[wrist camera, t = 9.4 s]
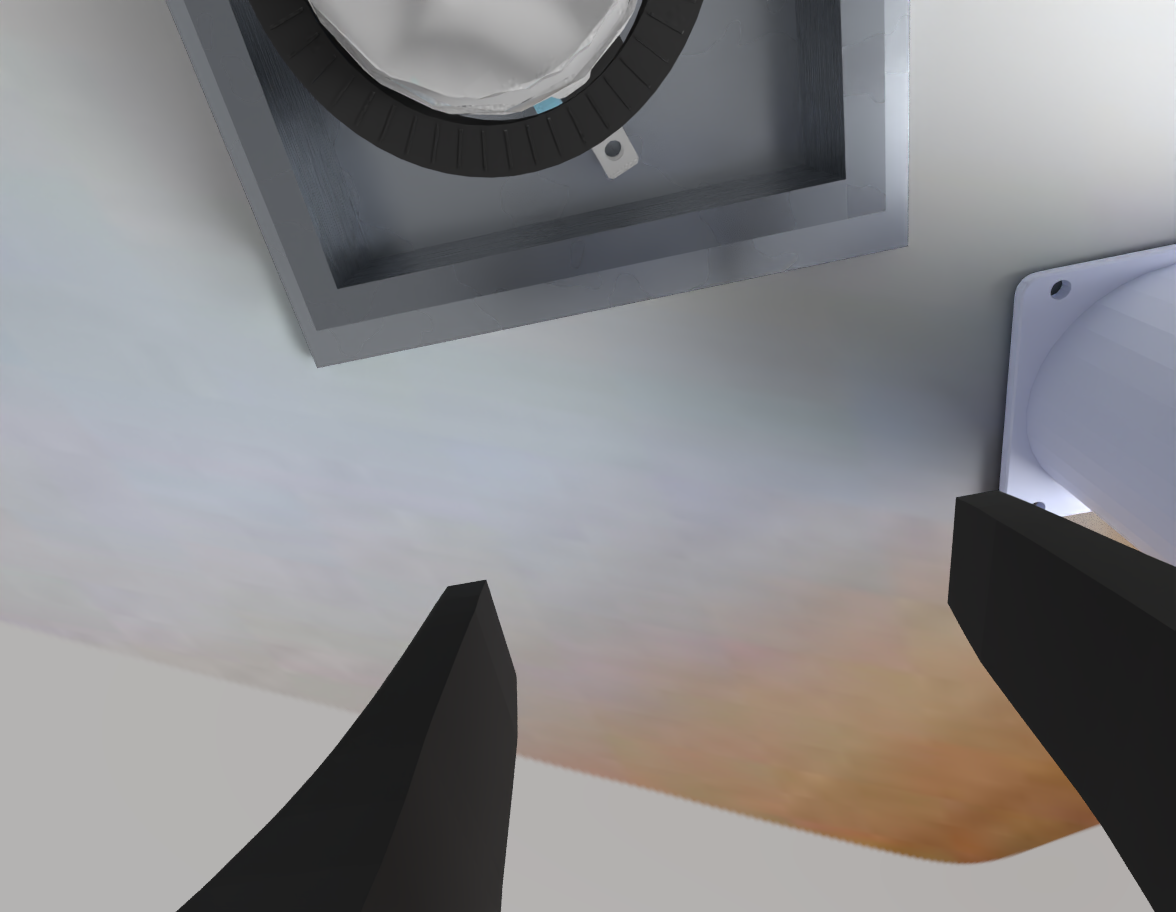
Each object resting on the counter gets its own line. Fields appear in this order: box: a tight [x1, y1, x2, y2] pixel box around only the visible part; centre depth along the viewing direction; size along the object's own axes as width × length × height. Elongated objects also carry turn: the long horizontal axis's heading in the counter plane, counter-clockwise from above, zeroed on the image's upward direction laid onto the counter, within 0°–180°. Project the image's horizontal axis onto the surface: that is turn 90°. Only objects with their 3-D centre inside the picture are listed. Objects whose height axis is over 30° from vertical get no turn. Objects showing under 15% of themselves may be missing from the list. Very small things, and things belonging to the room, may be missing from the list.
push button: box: [249, 0, 704, 179], centre depth 11 cm, size 7×5×10 cm
